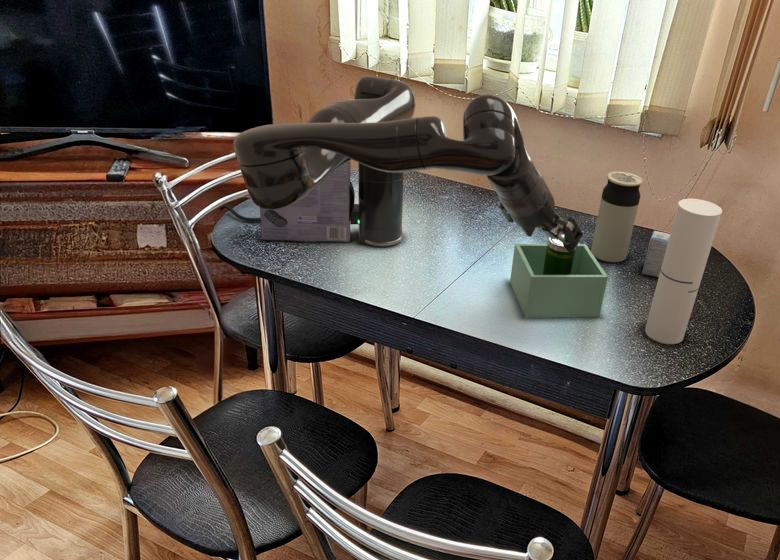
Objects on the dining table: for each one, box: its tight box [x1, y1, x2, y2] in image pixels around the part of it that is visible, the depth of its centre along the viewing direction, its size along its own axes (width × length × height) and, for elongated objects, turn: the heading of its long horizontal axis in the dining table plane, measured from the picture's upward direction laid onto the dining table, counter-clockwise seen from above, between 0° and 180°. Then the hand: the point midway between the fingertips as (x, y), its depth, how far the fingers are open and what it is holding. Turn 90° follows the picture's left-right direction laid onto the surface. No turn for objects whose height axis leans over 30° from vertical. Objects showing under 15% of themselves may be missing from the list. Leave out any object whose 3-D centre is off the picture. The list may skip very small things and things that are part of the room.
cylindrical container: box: [644, 198, 723, 345], centre depth 120 cm, size 7×7×25 cm
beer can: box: [542, 234, 576, 275], centre depth 130 cm, size 5×5×12 cm
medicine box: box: [641, 230, 670, 278], centre depth 145 cm, size 8×4×9 cm, turn 71°
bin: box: [509, 243, 609, 319], centre depth 131 cm, size 15×14×9 cm
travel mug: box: [590, 171, 644, 263], centre depth 147 cm, size 8×8×18 cm
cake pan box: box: [259, 160, 356, 243], centre depth 141 cm, size 19×5×18 cm, turn 100°
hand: (551, 239), depth 122 cm, fingers open, 8 cm apart
